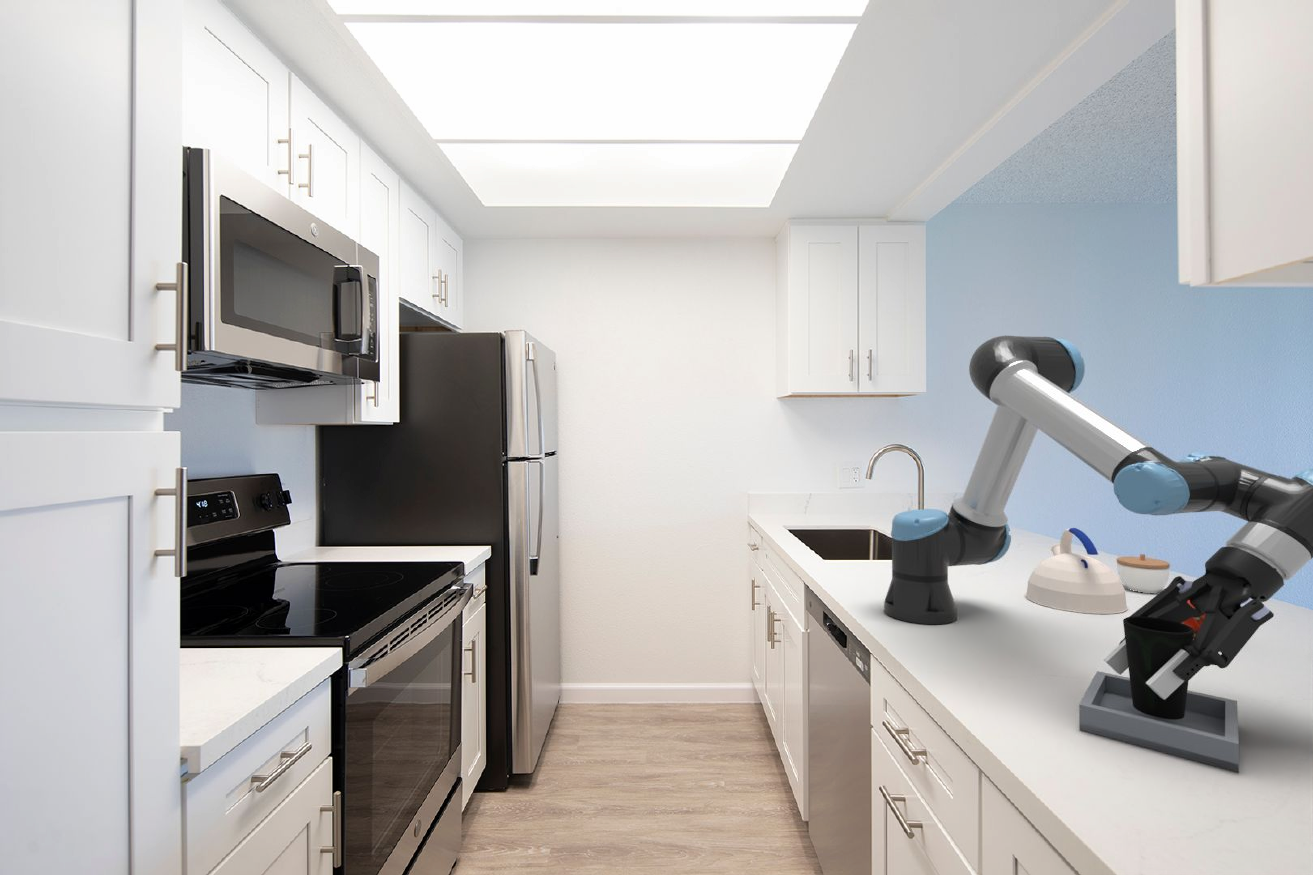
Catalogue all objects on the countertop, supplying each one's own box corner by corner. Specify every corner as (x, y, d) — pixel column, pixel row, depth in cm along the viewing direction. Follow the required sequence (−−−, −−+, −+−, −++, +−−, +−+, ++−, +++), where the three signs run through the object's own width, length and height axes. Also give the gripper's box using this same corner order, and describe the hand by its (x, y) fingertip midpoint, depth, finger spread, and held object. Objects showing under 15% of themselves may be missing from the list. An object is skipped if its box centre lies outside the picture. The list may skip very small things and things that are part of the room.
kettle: (1101, 593, 155) (1101, 522, 155) (1146, 617, 135) (1146, 536, 135) (1013, 589, 160) (1013, 521, 160) (1044, 612, 140) (1044, 533, 140)
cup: (1208, 725, 81) (1208, 635, 80) (1142, 720, 82) (1142, 631, 82) (1172, 700, 88) (1171, 617, 88) (1112, 696, 90) (1112, 615, 89)
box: (1079, 729, 85) (1079, 704, 85) (1097, 693, 96) (1097, 671, 96) (1238, 772, 74) (1238, 743, 74) (1237, 725, 85) (1237, 700, 85)
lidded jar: (1132, 595, 153) (1132, 557, 153) (1108, 584, 164) (1107, 549, 164) (1180, 596, 151) (1180, 559, 151) (1152, 586, 162) (1152, 550, 162)
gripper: (1354, 603, 74) (1215, 734, 75) (1210, 566, 94) (1102, 669, 95) (1308, 559, 74) (1170, 690, 75) (1174, 532, 95) (1067, 635, 96)
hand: (1132, 678), depth 85 cm, fingers closed on cup, 8 cm apart
